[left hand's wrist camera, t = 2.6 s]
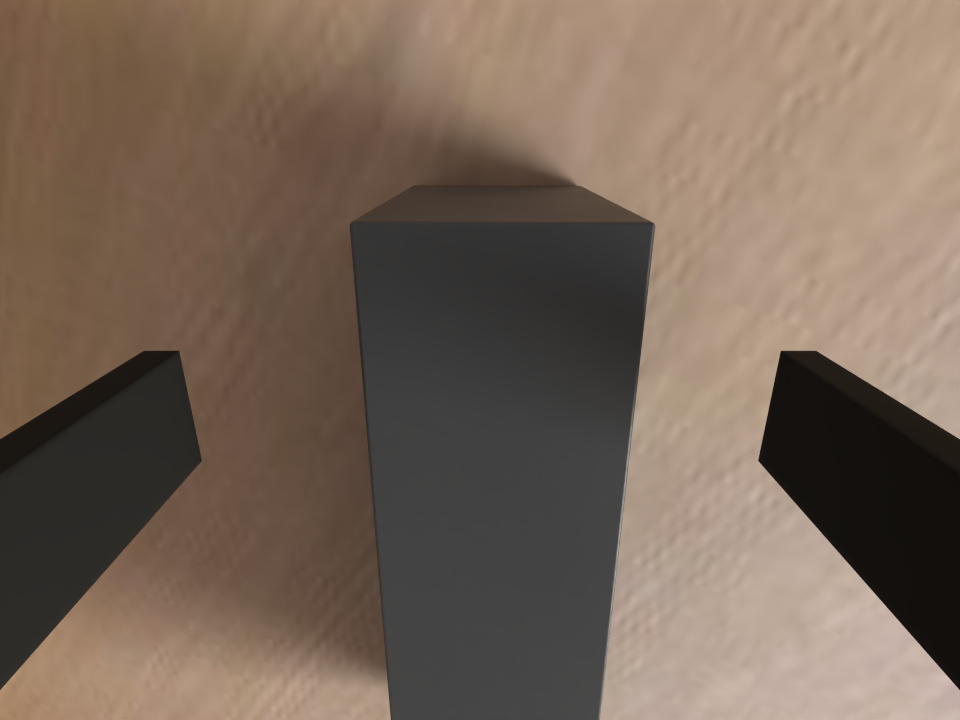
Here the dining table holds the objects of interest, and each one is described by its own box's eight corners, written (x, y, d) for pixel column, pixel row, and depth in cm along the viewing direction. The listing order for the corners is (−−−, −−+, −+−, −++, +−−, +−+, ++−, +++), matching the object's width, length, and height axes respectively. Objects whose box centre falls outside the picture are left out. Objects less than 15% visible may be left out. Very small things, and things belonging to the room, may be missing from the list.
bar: (411, 185, 18) (348, 221, 10) (582, 185, 18) (657, 222, 10) (433, 694, 27) (408, 936, 19) (549, 696, 27) (575, 941, 19)
